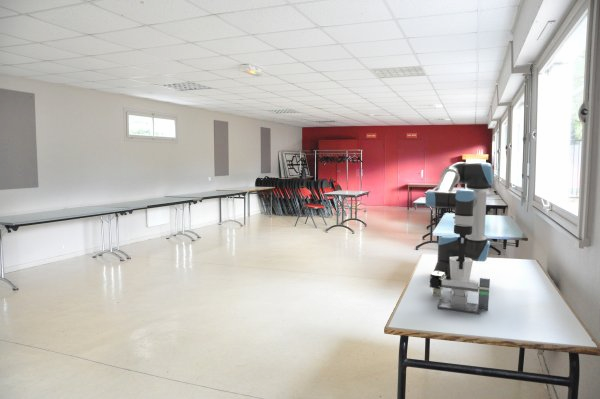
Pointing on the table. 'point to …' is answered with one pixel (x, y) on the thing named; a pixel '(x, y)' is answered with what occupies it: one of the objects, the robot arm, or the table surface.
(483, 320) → the table surface
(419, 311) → the table surface
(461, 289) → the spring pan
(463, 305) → the stand
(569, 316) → the table surface
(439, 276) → the pneumatic valve
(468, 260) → the cup
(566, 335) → the table surface
